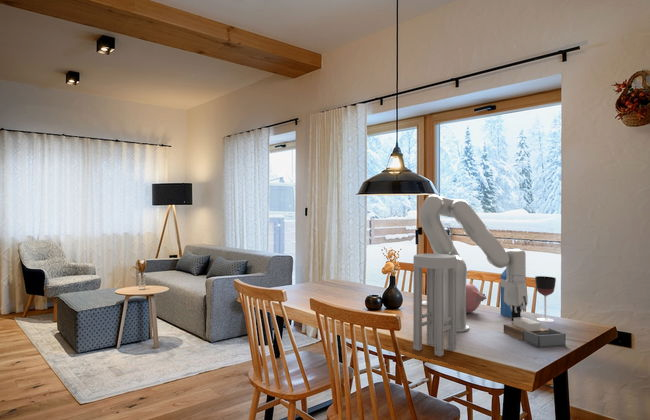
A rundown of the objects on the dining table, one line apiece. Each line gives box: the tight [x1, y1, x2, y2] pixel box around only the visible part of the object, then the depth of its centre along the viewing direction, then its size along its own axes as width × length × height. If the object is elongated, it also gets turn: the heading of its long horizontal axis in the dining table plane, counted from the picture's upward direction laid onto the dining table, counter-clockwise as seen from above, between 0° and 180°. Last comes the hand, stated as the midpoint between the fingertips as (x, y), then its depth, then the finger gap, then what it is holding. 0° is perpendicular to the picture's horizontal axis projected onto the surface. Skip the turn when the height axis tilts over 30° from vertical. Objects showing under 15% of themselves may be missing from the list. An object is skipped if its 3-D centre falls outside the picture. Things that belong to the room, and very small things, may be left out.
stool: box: [412, 253, 457, 357], centre depth 162 cm, size 16×16×35 cm
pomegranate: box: [466, 281, 487, 314], centre depth 218 cm, size 15×20×15 cm
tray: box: [522, 327, 567, 349], centre depth 170 cm, size 12×8×4 cm
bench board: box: [503, 323, 548, 342], centre depth 180 cm, size 12×12×4 cm
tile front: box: [521, 319, 542, 331], centre depth 177 cm, size 5×5×3 cm
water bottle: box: [500, 268, 512, 318], centre depth 216 cm, size 9×9×25 cm
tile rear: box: [512, 316, 531, 328], centre depth 182 cm, size 5×5×3 cm
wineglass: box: [534, 275, 557, 323], centre depth 206 cm, size 8×9×20 cm
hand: (516, 321), depth 186 cm, fingers closed
